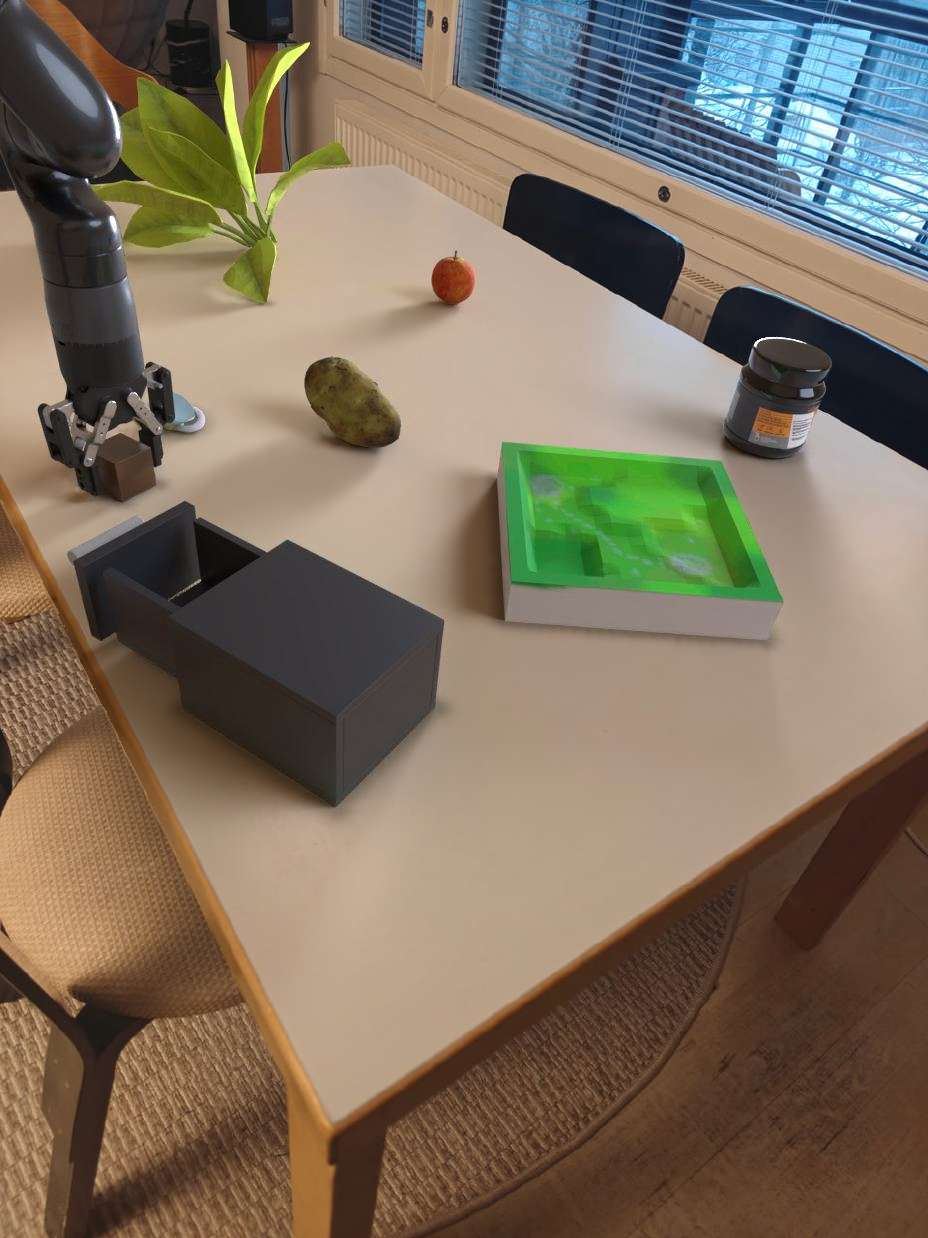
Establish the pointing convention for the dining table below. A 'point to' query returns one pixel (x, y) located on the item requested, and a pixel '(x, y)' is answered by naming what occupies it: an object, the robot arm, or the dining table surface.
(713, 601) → the tray
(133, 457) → the block
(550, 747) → the dining table surface
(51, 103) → the robot arm
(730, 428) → the supplement container
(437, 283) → the fruit
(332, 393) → the potato
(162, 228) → the artificial plant
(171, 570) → the drawer
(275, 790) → the dining table surface
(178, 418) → the pacifier
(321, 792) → the cabinet
